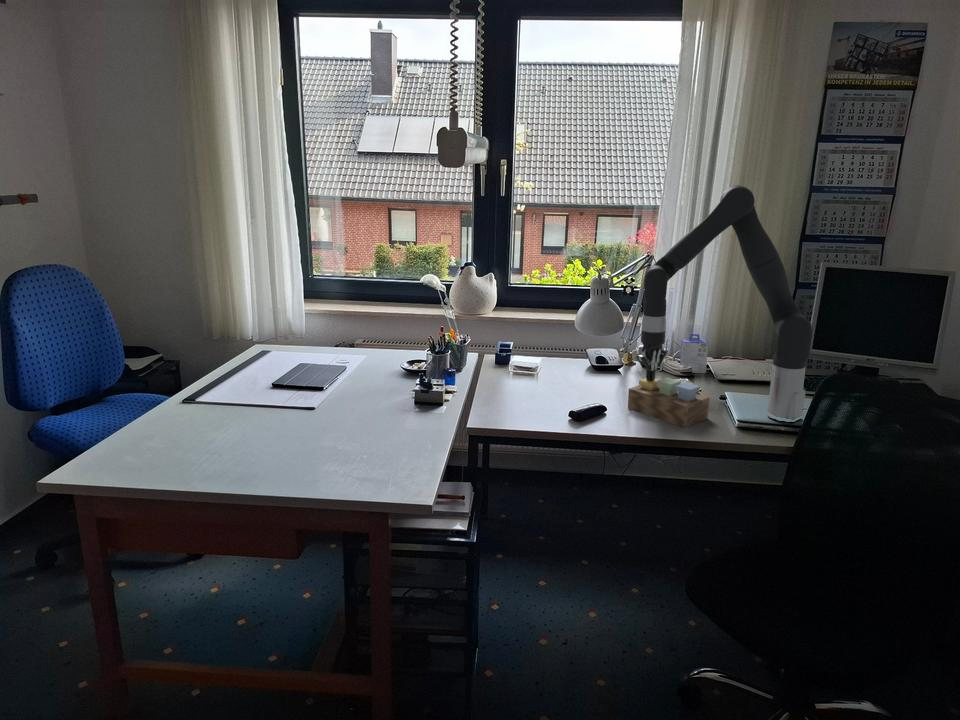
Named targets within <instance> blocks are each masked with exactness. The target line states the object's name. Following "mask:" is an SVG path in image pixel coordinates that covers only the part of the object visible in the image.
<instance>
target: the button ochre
mask: <svg viewBox="0 0 960 720" xmlns="http://www.w3.org/2000/svg"><path fill="white" fill-rule="evenodd" d="M658 380H659V379H657V378H655V380H654V381H647V380H646V377H645V378H641V379H639V380H638V384H639V385H642V388H644V389H647V390H651V391H652V390H655V389H658V388H659V386H658V385H657V381H658ZM639 385H638V386H639Z"/></svg>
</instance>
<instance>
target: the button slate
mask: <svg viewBox="0 0 960 720" xmlns="http://www.w3.org/2000/svg"><path fill="white" fill-rule="evenodd" d="M675 391H679V392H678V399H681V400H685V401H688V402H689V401H692V400H695V399H696V394H697V393H698V392H701V386H700V385H697V384H693V383H689V382H683V383H681V384H680V385H677V386H676V388H675Z"/></svg>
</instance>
